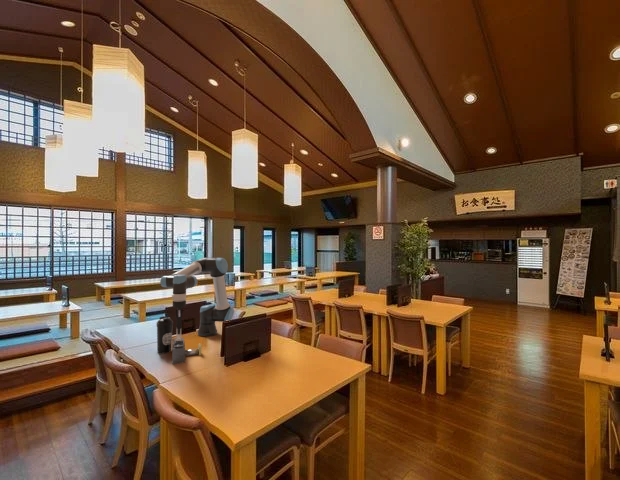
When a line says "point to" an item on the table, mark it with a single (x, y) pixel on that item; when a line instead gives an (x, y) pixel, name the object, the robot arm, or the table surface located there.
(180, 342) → the plate
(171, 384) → the table surface
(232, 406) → the table surface
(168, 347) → the water bottle
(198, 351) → the lynch pin
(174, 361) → the hitch beam
